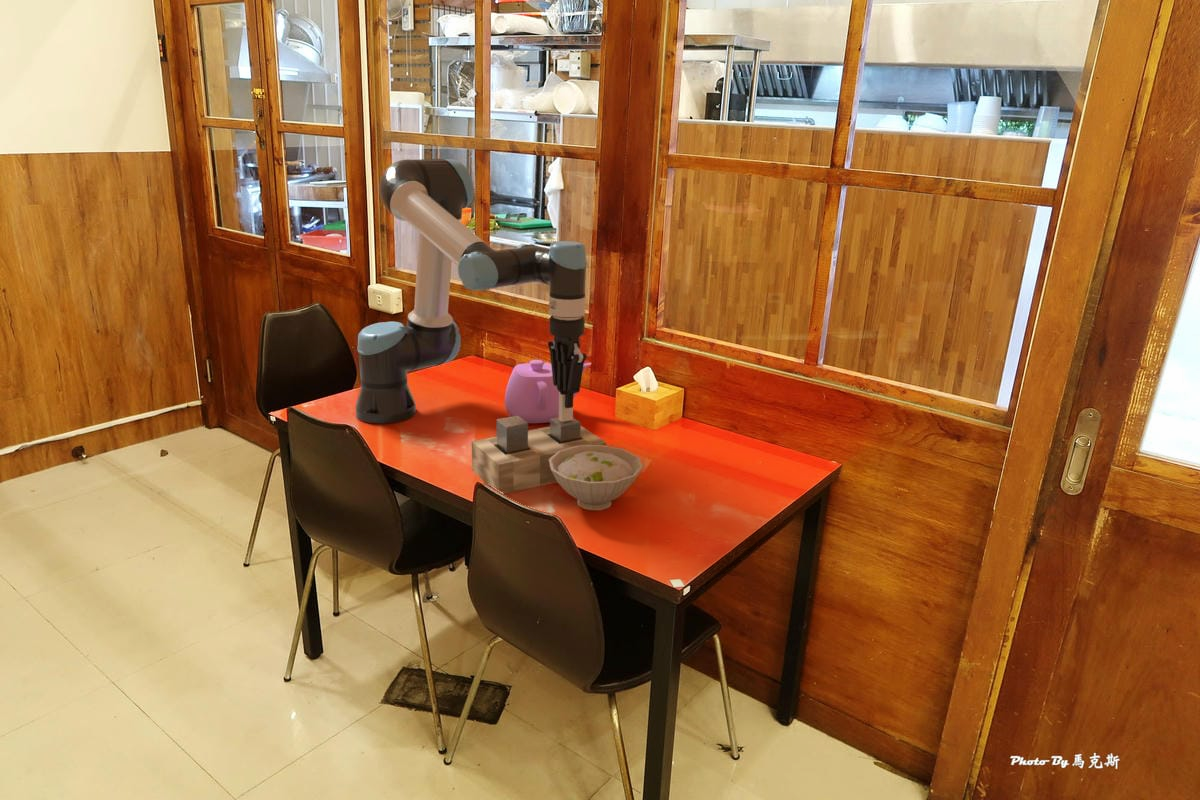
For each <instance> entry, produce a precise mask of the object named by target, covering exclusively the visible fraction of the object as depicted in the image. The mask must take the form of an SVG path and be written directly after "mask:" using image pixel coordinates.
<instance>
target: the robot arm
mask: <svg viewBox="0 0 1200 800" xmlns="http://www.w3.org/2000/svg"><path fill="white" fill-rule="evenodd" d="M474 188H475V187H474V183H473V179H472V177H471V174H470V173H469V170H468V168H467V167H466V165H464V163H462V162H461V161H459V160H456V159H450V158H442V157H441V158H427V159H426V158H425V159H401V160H398V161H395V162H393V163H391V164H390V165H389V166H388V167H387V168H386V169H385V170H384V172H383V174H382V175H381V177H380V180H379V187H378V191H379V197H380V200H381V202H382V204H383V205H384V207H385V208H386V210H387V211H388V212H389V213H390V214H391V215H393V216H394V218H395V219H397V220H399V221H403V222H407V223H408V224H409V225H411V226H412V228H414V229H415V230H416V231H418V237H417V238H418V240H417V254H416V255H417V256H416V273H415V274H416V275H415V288H414V289H415V290H414V291H415V292H414V306H413V307H414V308H413V309H412V311H410V312H409V313H408V314H407V323H406V324H407V325H404V324H403V323H401V322H399V321H386V322H385V321H383V322H377V323H376V322H375V323H373V324H370V325H368V326H365V327H364V328H362V329H361V330H360V331H359V333H358V334H357V335H358V336H357V352H358V365H359V377H360V390H359V394H358V396H357V400H356V404H355V416H356V418H357V419H358V420H360V421H362V422H364V423H370V424H393V423H399V422H402V421H406V420H408V419H411V418H413V417H414V416H415V415H416V414H417V410H416V409H417V407H416V402H415V400H414V397H413V395H412V391H411V389H410V387H409V383H408V372H409V371H416V370H420V369H425V368H428V367H433V366H435V367H436V366H441V365H443V364H447V363H449V362H452V361H453V360H454V359H455V358H456V356H457V355H458V353H459V351H460V349H461V344H462V343H461V341H462V339H461V333H459V331H460V329H459V327H458V325H457V323H456V322H455V321H454V318H453V316H452V315H451V314H450V313H449V300H450V288H451V287H450V286H451V275H452V264H453V263H454V264H455V265H456V266H457V272H458V277H459V279H460V280H461V283H462V285H463V286H464V287H465V288H466V289H468V290H470V291H488V290H493V289H497V288H503V287H508V286H516V285H522V284H530V283H540V284H544V285H549V302H548V307H549V315H550V317H549V319H548V321H549V324H548V325H549V327H548V328H549V333H550V335H552V336H553V340H552V341H548V342H547V345H548V350H549V354H550V364H551V366H552V376H553V384H554V386H557V390H558V391H559V420H560V421H561V422H564V421H570V420H573V418H574V398H573V394H574V393H577V394H578V393H580V390H581V383H582V377H583V373H584V371H583V365H584V363H585V361H586V359H587V354H586V353H585V352H584V353H582V352H581V350H580V348H581V343H580V337H581V336H583V335H584V334H585V329H586V328H585V327H586V326H585V324H586V323H585V321H586V319H585V317H584V316H585V314H586V278H587V277H586V274H587V273H586V271H587V256H586V255H587V253H586V252H587V251H586V246H585V245H584V244H583V243H582V242H580V241H579V242H578V241H570V240H563V241H562V240H559V241H553V242H551V243H550V245H549V247H543V246H538V245H535V244H532V243H530V244H524V243H523V244H519V245H517V246H514V248H510V249H509V248H507V249H499V250H496V249H494V248H492V247H491V246H490V245H489V244H487V243H486V242H485V241H484V240H482V239H481V238H480V237H479V236H478V235H477V234H475V233H474V232H473V230H471V229H470V228H468V227H467V226H466V225H465V224H463V222H461V220H462V215H463V209H466V208H468V207H469V206H470V205H471V203H472V202H473V200H474V195H475V193H474V192H475V191H474ZM582 372H583V373H582Z"/></svg>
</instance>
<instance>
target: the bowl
mask: <svg viewBox="0 0 1200 800" xmlns="http://www.w3.org/2000/svg"><path fill="white" fill-rule="evenodd" d="M549 464H550V468H551V471H552V473H553V475H554V477H555V479H556V480H557V482H556V483H558V484H559V486H560V487H561V488H562V489H563V490H564V491H565V492H566V493H567V494H568V495H570V496H572V497H573V498H574V499H576V500H577V506H579V507H580V508H581V509H584V510H589V511H604V510H606V509H608V508H610V507H611V505H612V501H614V500H616V499H619V497H620V496H621V495H622V494H624V493H625V492H626V491H627V490H628V489H629V488H630V487H631V485H633V483H634V482H635V481H636V479H637V478H638V476H639V475H640V473H641V471H642V470H643V468H644V465H643V463H642V460H641V459H640V457H639V456H638V455H636V454H635V453H632V452H630V451H628V450H626V449H625V448H621V447H616V446H615V447H613V446H609V445H606V446H605V445H578V446H574V447H570V448H567V449H563V450H559V451H558V452H557V453H555V454H554V455H553V456H552V457H551V458H550V459H549Z"/></svg>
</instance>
